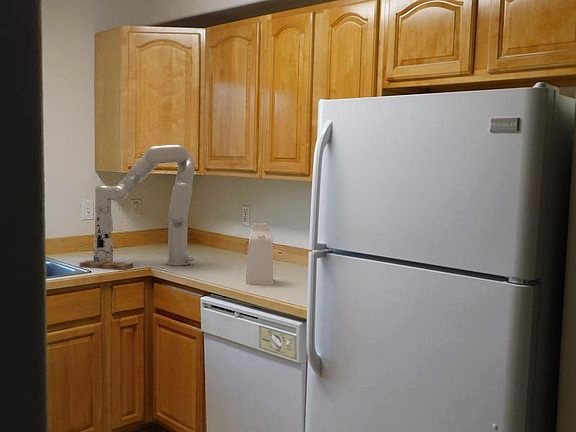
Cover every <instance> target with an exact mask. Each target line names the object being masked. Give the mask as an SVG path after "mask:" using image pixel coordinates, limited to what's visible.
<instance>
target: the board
mask: <svg viewBox="0 0 576 432" xmlns="http://www.w3.org/2000/svg"><path fill="white" fill-rule="evenodd" d="M80 267H81V268H90V269H105V270H119V271H120V270H121V271H127V270H130V269H132V268H134V263H133V262H120V261H119V262H118V261H113V262H107V261H93V259H92V260H91V259H90V260H88V259H87V260H84V261H80V262H79V268H80Z"/></svg>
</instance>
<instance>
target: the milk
mask: <svg viewBox="0 0 576 432" xmlns="http://www.w3.org/2000/svg"><path fill="white" fill-rule="evenodd" d="M273 242H274V241H273V235H272V231H271V228H270V226H269V223H268V222H267V223H264V222H263V223H260V222H257V223H256V222H255V223H254V224H253V225H252V228H251V230H250V234H249V239H248V244H247V259H246V271H245V272H246V273H245V285H267V286H268V285H271V286H274V254H273V253H274V249H273V248H274V245H273Z"/></svg>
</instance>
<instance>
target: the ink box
mask: <svg viewBox="0 0 576 432" xmlns="http://www.w3.org/2000/svg"><path fill="white" fill-rule="evenodd" d="M103 240H104V247H103V248H98V247H97V237H96V238H93V259H92V261H107V262H114V238H111V237H110V238H104V237H103Z"/></svg>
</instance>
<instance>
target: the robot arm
mask: <svg viewBox="0 0 576 432" xmlns="http://www.w3.org/2000/svg"><path fill="white" fill-rule="evenodd" d="M169 163H170V164H171V163H172V164H173V163H176V164H177V170H176V176H175V181H174V184H173V187H172V191H171V197H170V201H169V206H168V210H167V211H168V212H167V214H168V215H167V216H168V229H167V230H168V234H167V237H168V238H167V240H168V242H167V260H165V261H164V264H165V265H167V266H187V265H190V264H191V262H195V257H193V256H191V257H190V255H189V254H188V223H189V221H188V218H189V217H188V215H189V209H190V205H191V200H192V196H193V195H192V194H193V188H192V187H193V182H194V181H193V180H194V175H195V170H196V169H195V168H196V164H195V159H194V156H193V155H192V154H191V152H190V151H189V150H188V149H187V148H186V147H185V146H183V145H181V144H170V145H153V146H150V147H148V148H147V150H146V151H145V152H144V154H143V155H142V156H141V157H140V158H139V159H138V160H137V161H136V162H135V163H134V164H133V165H131V167H130V169H129V171H128V173H127V174H126V175H125V176H124V177H123V178H122V179H121V180H120V182H119V183H118V184H117V185H113V186H110V185H96V187H95V190H94V191H95V192H94V193H95V196H94V197H95V199H94V200H95V203H94V204H95V206H94V207H95V208H94V209H95V220H94V235H95V237H96V238H97V247H98V248H103V247H104V240H103V238H111V234H112V233H113V231H114V225H113V223H114V222H113V215H112V201H116V202H117V201H118V202H119V201H123V200H125V199H126V198H127V197H128V196H129V195H130V194H131V193H132V192H133V191H134V190H135V189H136V188H137V187H138V185H139V184H140V183H142V182H143V181H145V180H146V178H147V177H148V176H149V175H150V174H151V173H152V172H153V171H154V170H155V169H156V168H157V166H158V165H160V164H169Z"/></svg>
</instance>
